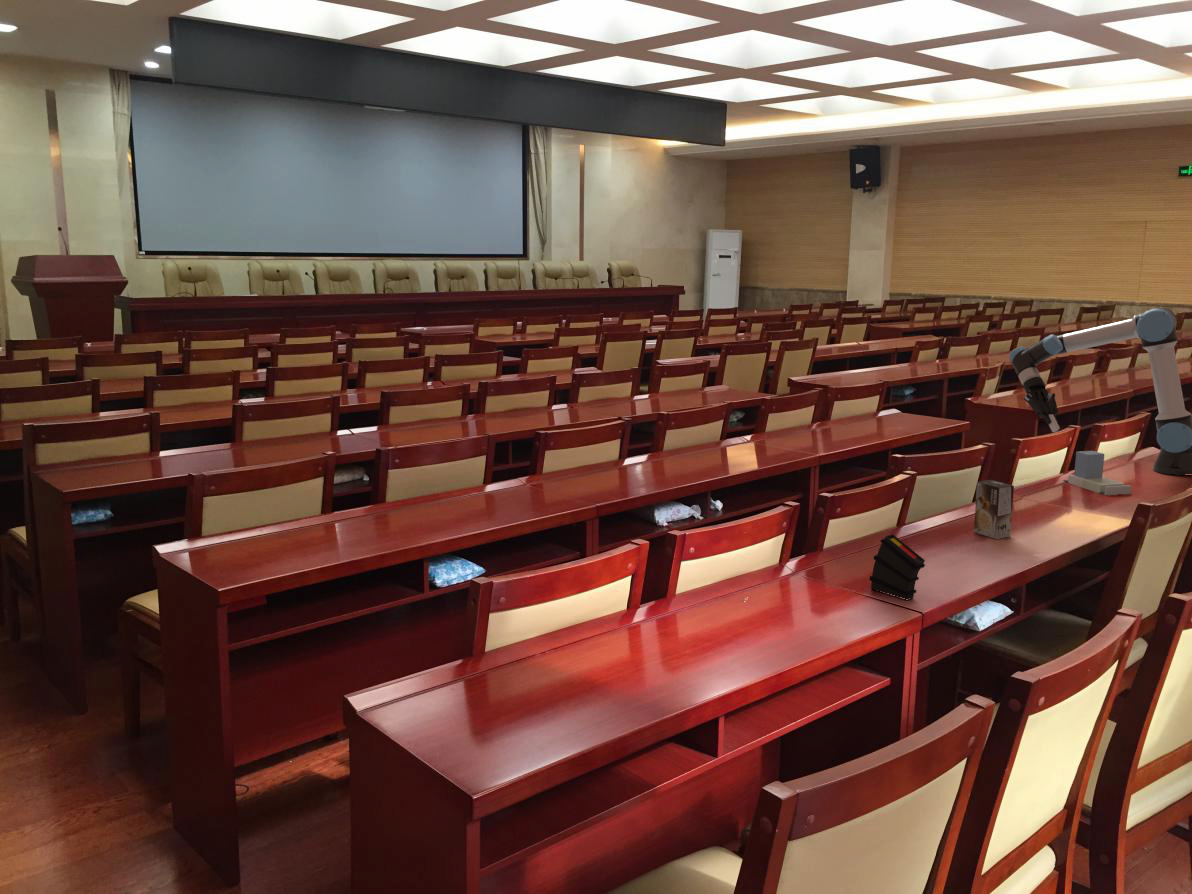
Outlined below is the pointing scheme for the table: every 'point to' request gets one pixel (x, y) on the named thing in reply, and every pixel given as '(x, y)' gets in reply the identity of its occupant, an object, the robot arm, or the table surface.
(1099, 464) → the block
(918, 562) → the magazine
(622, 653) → the table surface
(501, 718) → the table surface
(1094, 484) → the trap deck
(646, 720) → the table surface
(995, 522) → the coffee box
